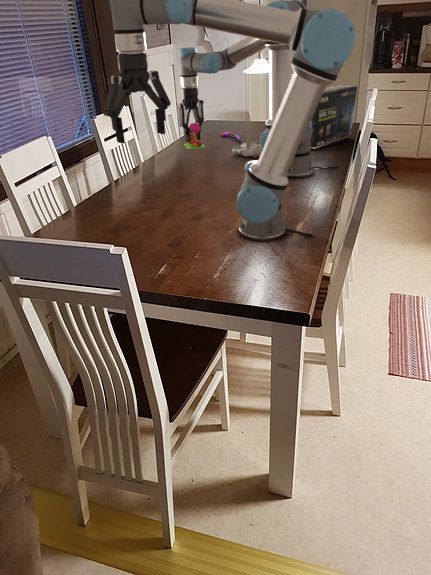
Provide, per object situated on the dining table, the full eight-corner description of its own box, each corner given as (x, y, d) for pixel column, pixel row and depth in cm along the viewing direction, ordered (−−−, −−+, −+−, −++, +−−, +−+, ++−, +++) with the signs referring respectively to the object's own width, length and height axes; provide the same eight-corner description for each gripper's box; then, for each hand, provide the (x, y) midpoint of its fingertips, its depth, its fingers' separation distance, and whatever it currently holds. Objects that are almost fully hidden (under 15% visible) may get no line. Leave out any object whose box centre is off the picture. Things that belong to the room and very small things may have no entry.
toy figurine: (178, 146, 217) (176, 122, 211) (193, 143, 222) (191, 119, 216) (194, 150, 209) (193, 125, 204) (209, 146, 214) (208, 122, 209)
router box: (314, 151, 231) (318, 94, 217) (296, 148, 237) (299, 92, 224) (352, 138, 251) (358, 85, 238) (335, 135, 258) (340, 83, 245)
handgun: (221, 135, 268) (221, 132, 267) (234, 134, 269) (234, 130, 268) (228, 143, 251) (228, 140, 250) (242, 142, 252) (242, 138, 251)
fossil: (259, 152, 219) (238, 132, 222) (247, 170, 225) (226, 150, 228) (276, 150, 232) (255, 131, 235) (264, 167, 239) (244, 148, 242)
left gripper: (96, 57, 107) (110, 149, 118) (179, 49, 121) (185, 131, 132) (80, 56, 112) (95, 144, 123) (162, 48, 126) (169, 128, 137)
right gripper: (178, 90, 194) (182, 145, 206) (210, 85, 205) (213, 138, 217) (167, 89, 199) (172, 143, 211) (200, 83, 210) (202, 135, 222)
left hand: (141, 138), depth 127 cm, fingers open, 13 cm apart
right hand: (193, 140), depth 214 cm, fingers closed on toy figurine, 5 cm apart
